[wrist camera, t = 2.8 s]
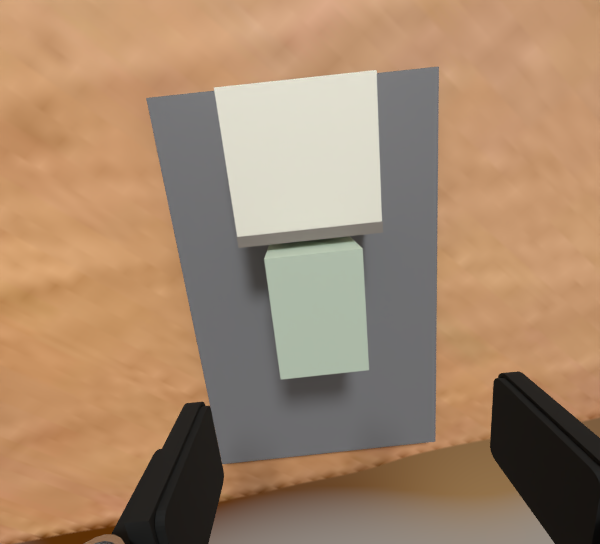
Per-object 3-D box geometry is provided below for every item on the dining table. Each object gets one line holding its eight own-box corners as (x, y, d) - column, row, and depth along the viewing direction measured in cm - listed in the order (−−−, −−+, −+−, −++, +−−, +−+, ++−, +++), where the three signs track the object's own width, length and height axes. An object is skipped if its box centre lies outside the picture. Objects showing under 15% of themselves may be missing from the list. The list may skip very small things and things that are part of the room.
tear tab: (271, 238, 22) (264, 259, 17) (343, 230, 22) (362, 248, 17) (283, 332, 24) (280, 379, 19) (350, 325, 24) (369, 370, 19)
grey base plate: (155, 103, 22) (105, 74, 16) (428, 74, 22) (480, 34, 16) (225, 449, 29) (209, 518, 23) (428, 428, 29) (463, 491, 23)
